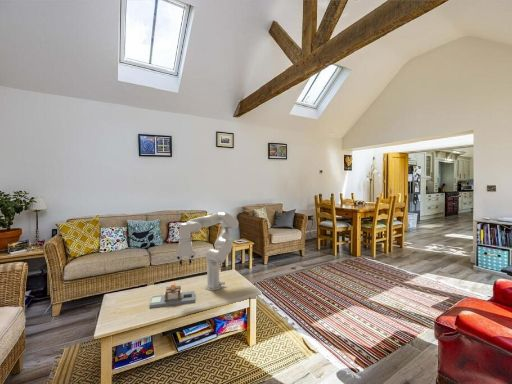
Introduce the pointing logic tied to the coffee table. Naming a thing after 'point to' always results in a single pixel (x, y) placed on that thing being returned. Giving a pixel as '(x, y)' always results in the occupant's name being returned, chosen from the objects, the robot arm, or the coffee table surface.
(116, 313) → the coffee table surface
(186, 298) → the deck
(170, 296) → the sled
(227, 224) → the robot arm
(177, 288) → the tunnel
